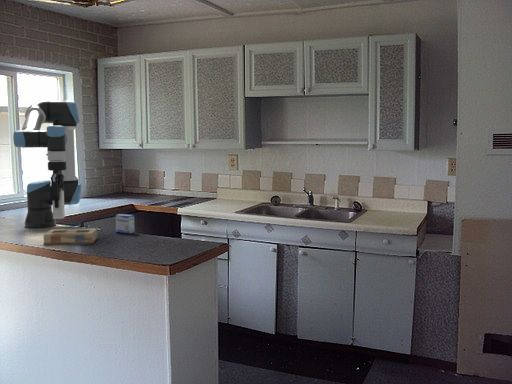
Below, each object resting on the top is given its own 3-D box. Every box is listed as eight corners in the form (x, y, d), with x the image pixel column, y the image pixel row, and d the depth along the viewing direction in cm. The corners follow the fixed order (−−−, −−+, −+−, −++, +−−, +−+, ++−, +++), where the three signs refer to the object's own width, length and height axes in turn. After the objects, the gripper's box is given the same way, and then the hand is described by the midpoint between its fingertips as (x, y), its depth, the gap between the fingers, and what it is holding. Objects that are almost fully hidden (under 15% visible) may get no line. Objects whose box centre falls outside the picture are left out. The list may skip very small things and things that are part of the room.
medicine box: (115, 232, 256) (115, 215, 255) (120, 231, 260) (120, 213, 259) (129, 233, 253) (129, 215, 252) (134, 232, 257) (134, 214, 257)
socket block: (52, 238, 240) (51, 228, 239) (97, 237, 242) (97, 227, 242) (43, 245, 226) (43, 234, 225) (91, 244, 228) (91, 233, 228)
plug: (55, 217, 234) (54, 188, 233) (64, 217, 234) (63, 188, 233) (53, 218, 230) (52, 189, 229) (62, 218, 231) (61, 189, 229)
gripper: (52, 160, 238) (54, 212, 240) (42, 162, 221) (44, 217, 223) (70, 160, 239) (71, 211, 241) (61, 161, 222) (63, 217, 224)
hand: (58, 214), depth 232 cm, fingers closed on plug, 4 cm apart
